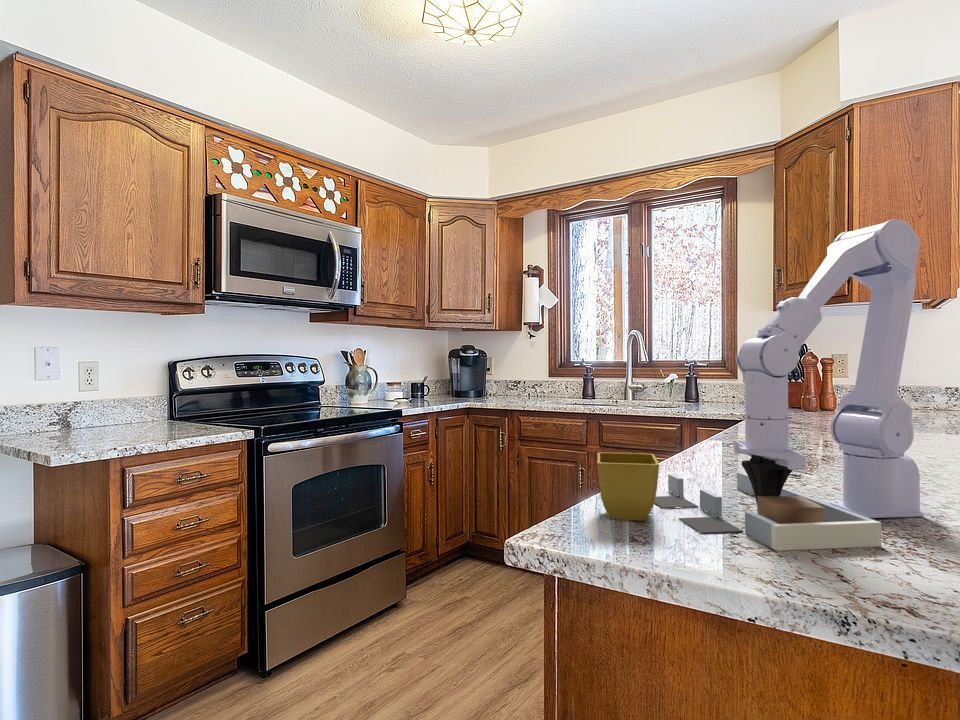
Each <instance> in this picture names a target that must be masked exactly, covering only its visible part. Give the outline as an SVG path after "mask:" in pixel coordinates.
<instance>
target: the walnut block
mask: <svg viewBox="0 0 960 720" xmlns="http://www.w3.org/2000/svg"><path fill="white" fill-rule="evenodd" d="M756 505H757V511H756V512H757V514H759V515H761V516H763V517H765V518H767V519H769V520H772V521H774V522H776V523H778V524H791V523H818V522H824V507H822V506H820V505H818V504H816V503H814V502H812V501H809V500H807V499H805V498H803V497H801V496H757V503H756Z"/></svg>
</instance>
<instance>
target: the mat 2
mask: <svg viewBox="0 0 960 720" xmlns="http://www.w3.org/2000/svg"><path fill="white" fill-rule="evenodd" d="M679 519H680V520H682V521H683V522H685V523H686V524H685V523H684V524H685V525H687V524H688V525H689V526H688V525H687V526H688V527H690V526H691V527H692V528H691V527H690V528H691V529H693V528H694V529H696V530H697V531H699V532H700V533H699V532H698V533H699V534H701V533H712V534H729V532H730V533H731V534H732V533H734V534H735V532H736V533H737V532H738V533H744V531H743V530H742V529H741V528H739V527H737V526H735V525H733V524H731V523H730V522H728V521H726V520H724V519H722V517H715V516H703V517H702V516H701V517H700V516H699V517H697V516H696V517H678V520H679ZM680 520H679V521H680ZM682 521H681V522H682ZM694 529H693V530H694ZM696 530H695V531H696ZM697 531H696V532H697Z"/></svg>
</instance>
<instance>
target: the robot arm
mask: <svg viewBox="0 0 960 720" xmlns="http://www.w3.org/2000/svg"><path fill="white" fill-rule="evenodd" d="M920 246H921V239H920V237H919V236H918V234H917V233H916V232H915V230H914V229H913V227H912V226H911V225H910V223H908V222H907V221H905V220H904V219H900V218H893V219H890V220H887V221H885V222H883V223H878V224H875V225H870V226H867V227H862V228H860V229H856V230H852V231H851V230H849V231H844V232H841V233H840V234H839V235H837V237H836V238H835V239H834V240H833V242H832V243H831V244H830V245H829V246H828V247H827V249H826V254H827V256H826V257H824V259H823V261H822V262H821V264H820V265H819V267H818V268H817V270H816V271H815V273H814V274H813V276H812V277H811V278H810V280H809V281H808V283H807V284H806V285H805V287H804V288H803V290H802V291H801V292H800V294H799V295H798V297H797V296H796V297H795V296H794V297H789V298H787V299H786V300H783V301H779V303H778V304H777V305H776V306H775V309H776V311H775V312H774V314H773V315H772V317H770V318H769V320H768V321H767V322H766V323H765V325H763V326H761V327H760V328H759V329H758V330H757V332H758V333H757V335H756V337H752V338H749V339H747V340H746V341H745V342H744V343H743V344H742V345H741V346H740V349H739V352H738V355H736V356H735V363H736V365H737V368H738V370H740V372H741V375H742V383H744V408H745V409H744V416H745V417H744V420H745V421H744V422H745V423H744V424H745V425H744V428H745V429H744V430H745V432H744V433H745V437H744V439H745V440H733V453H734V454H742V455H745V456H748V457H750V458H749V460H748V459H747V460H746V459H745V460H741V466H742V468H743V469H744V471H745V473H746V474H747V475H748V477H749V479H750V482H751V485H752V488H753V491H754V495H755V496H754V498H755V502H756V504H757V496H780V494H781V491H782V488H783V487H784V486H785V483H786V481H787V480H788V478H789V476H790V475H791V474H792V472H793V471H803V470H804V471H805V470H806V455H803V454H801V453H799V452H796V451H795V450H793V449H791V448H789V374H790V373H791V372H792V371H793V370H794V369H796V368H797V365H798V362H799V352H800V351H801V350H802V348H801V347H802V345H804V343H805V342H806V341H807V340H808V338H809V336H811V334H812V333H813V332H814V330H816V328H817V327H818V325H819V324H820V323H821V321H822V318H823V317H822V312H821V308H822V307H823V306H824V305H826V303H827V302H828V301H829V300H830V299H831V298H832V297H833V296H834V295H835V294H836V292H838V291H839V289H840V288H841V287H842V286H843V285H844V283H845V282H847V281H848V279H849V278H850V277H852V279H855V280H856V281H857V282H858V283H860V284H861V285H863V286H865V287H867V288H868V290H869V291H870V299H869V303H868V309H867V315H866V321H865V327H864V333H863V338H862V344H861V351H860V355H859V356H860V357H859V361H858V368H857V374H856V379H855V385H854V388H853V389H852V390H851V391H850V392H848V393H847V394H845V395H844V396H843V397H842V398H841V399H840V400H839V404H838V409H837V411H836V412H835V413H834V415H833V417H832V419H831V420H830V421H831V422H830V425H829V426H830V434H831V437H832V439H833V440H834V441H835V442H836V444H838V447H839V449H838V450H839V451H841V452H842V487H843V489H842V490H843V491H842V501H830V502H829V504H831V505H834V506H837V507H840V508H842V509H845V510H848V511H851V512H853V513H856V514H859V515H862V516H864V517H867V518H870V519H881V518H886V519H887V518H888V519H889V518H906V517H907V518H909V517H911V518H912V517H913V518H915V517H924V516H926V515H925V514H926V513H925V512H922V511H921V496H920V495H921V491H920V490H921V489H920V488H921V487H920V485H921V481H920V480H921V479H920V478H921V475H920V470H919V467H918V465H917V463H916V462H915V460H914V459H913V458H912V457H910V456H909V455H907V454H905V453H906V452H907V451H908V450H909V449H910V447H911V446H912V444H913V441H914V437H915V436H914V434H915V433H914V427H913V422H912V415H913V408H912V407H911V406H910V404H908V403H907V402H906V401H905V400H904V399H903V398H902V397H900V395H898V390H899V385H900V381H901V380H900V378H901V374H902V373H901V372H902V367H903V363H904V362H903V361H904V355H905V349H906V344H907V338H908V331H909V326H910V320H911V316H912V315H911V314H912V309H913V303H914V297H915V291H916V286H917V285H916V284H917V278H916V267H917V261H918V256H919V250H920ZM872 410H873V411H872ZM874 410H876V411H874ZM877 410H878V411H877Z"/></svg>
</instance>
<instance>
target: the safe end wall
mask: <svg viewBox="0 0 960 720" xmlns="http://www.w3.org/2000/svg"><path fill="white" fill-rule="evenodd" d="M771 547H772V548H771ZM771 547H770V548H771V549H773V550H774V551H798V550H799V551H802V550H804V551H805V550H821V549H822V550H824V549H825V550H826V549H827V550H828V549H850V548H851V549H852V548H870V547H871V548H872V547H873V548H875V547H876V548H877V547H882V522H880V521H877V520H876V519H873V520H872V521H845V522H818V523H791V524H771Z"/></svg>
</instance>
